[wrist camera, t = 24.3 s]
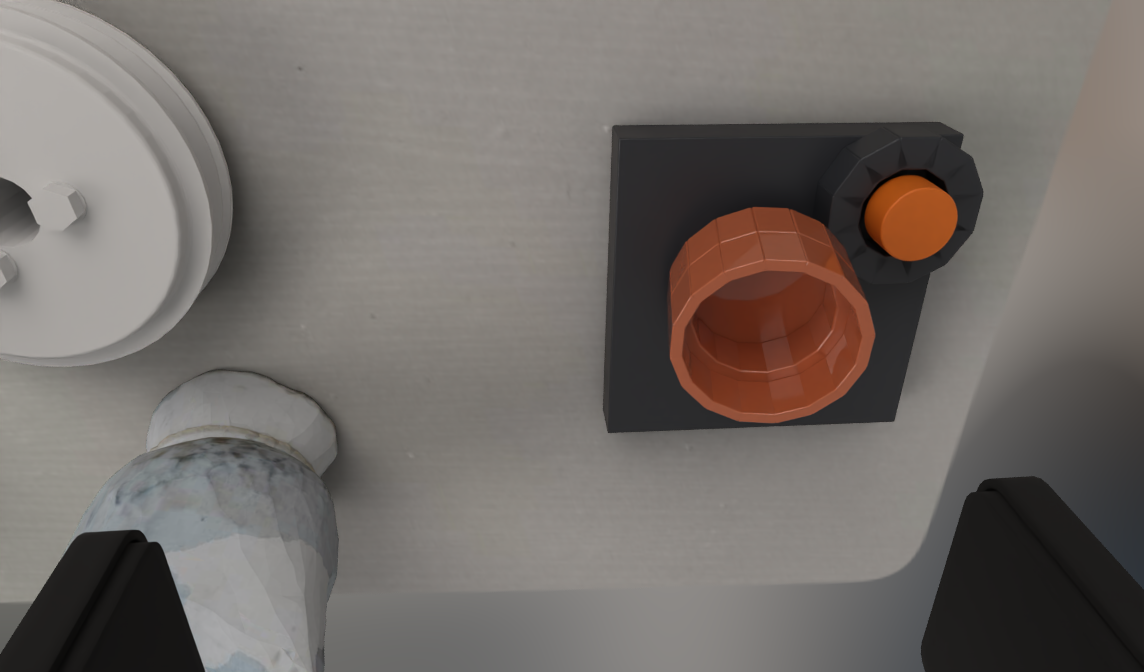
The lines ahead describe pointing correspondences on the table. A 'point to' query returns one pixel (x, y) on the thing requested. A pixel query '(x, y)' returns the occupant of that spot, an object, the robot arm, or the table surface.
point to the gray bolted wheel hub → (99, 190)
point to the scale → (778, 180)
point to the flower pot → (766, 316)
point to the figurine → (237, 517)
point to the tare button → (910, 217)
